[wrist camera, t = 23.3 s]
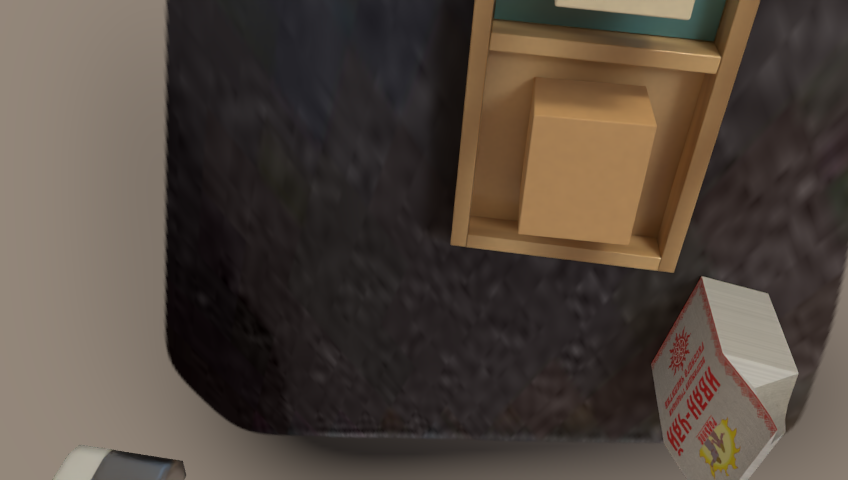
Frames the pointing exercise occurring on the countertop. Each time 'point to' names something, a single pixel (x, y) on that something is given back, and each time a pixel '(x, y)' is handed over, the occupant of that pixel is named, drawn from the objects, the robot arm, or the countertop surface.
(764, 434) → the white and red box
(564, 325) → the countertop surface
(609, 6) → the beige rectangular block
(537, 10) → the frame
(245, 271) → the countertop surface
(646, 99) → the light brown block
